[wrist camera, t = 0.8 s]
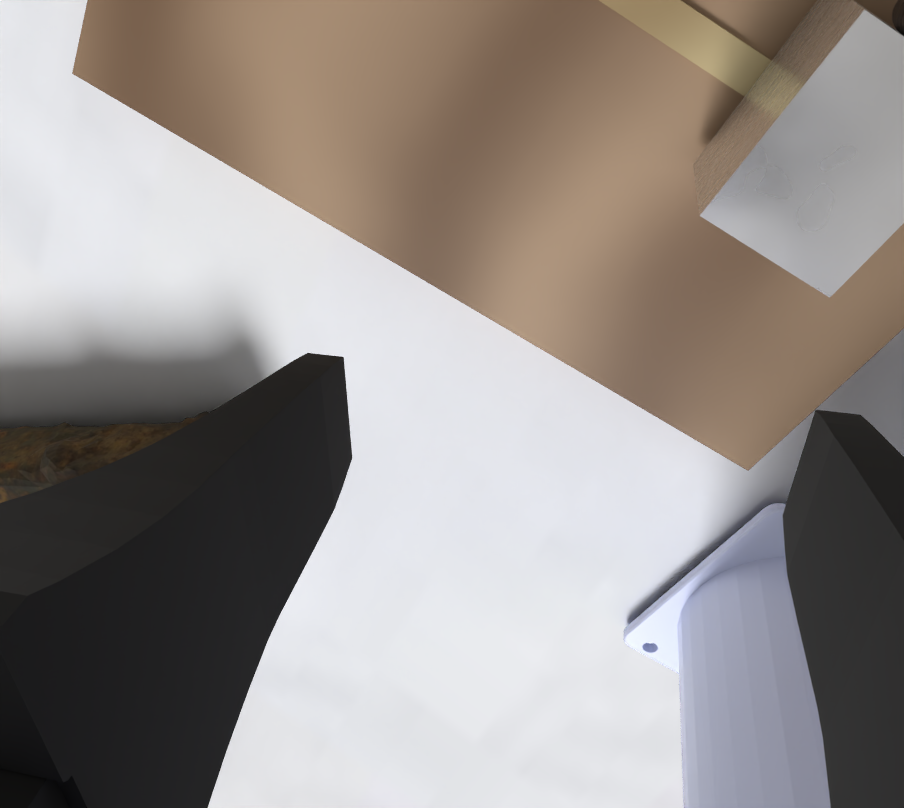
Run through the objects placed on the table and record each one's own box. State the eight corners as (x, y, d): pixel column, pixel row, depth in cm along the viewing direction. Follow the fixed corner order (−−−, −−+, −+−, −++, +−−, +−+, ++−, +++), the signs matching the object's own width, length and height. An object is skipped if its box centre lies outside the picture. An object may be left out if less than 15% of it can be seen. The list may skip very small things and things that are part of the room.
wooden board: (1249, -46, 15) (1464, -7, 11) (742, 438, 23) (761, 559, 19) (300, -767, 12) (138, -1051, 9) (106, 60, 21) (-23, 110, 17)
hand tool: (265, 388, 26) (199, 478, 22) (293, 484, 28) (237, 581, 24) (-193, 382, 30) (-312, 457, 27) (-138, 465, 33) (-241, 545, 29)
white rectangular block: (992, 31, 15) (1057, 67, 12) (805, 236, 18) (830, 297, 15) (862, -60, 14) (905, -42, 12) (692, 164, 17) (699, 216, 15)
